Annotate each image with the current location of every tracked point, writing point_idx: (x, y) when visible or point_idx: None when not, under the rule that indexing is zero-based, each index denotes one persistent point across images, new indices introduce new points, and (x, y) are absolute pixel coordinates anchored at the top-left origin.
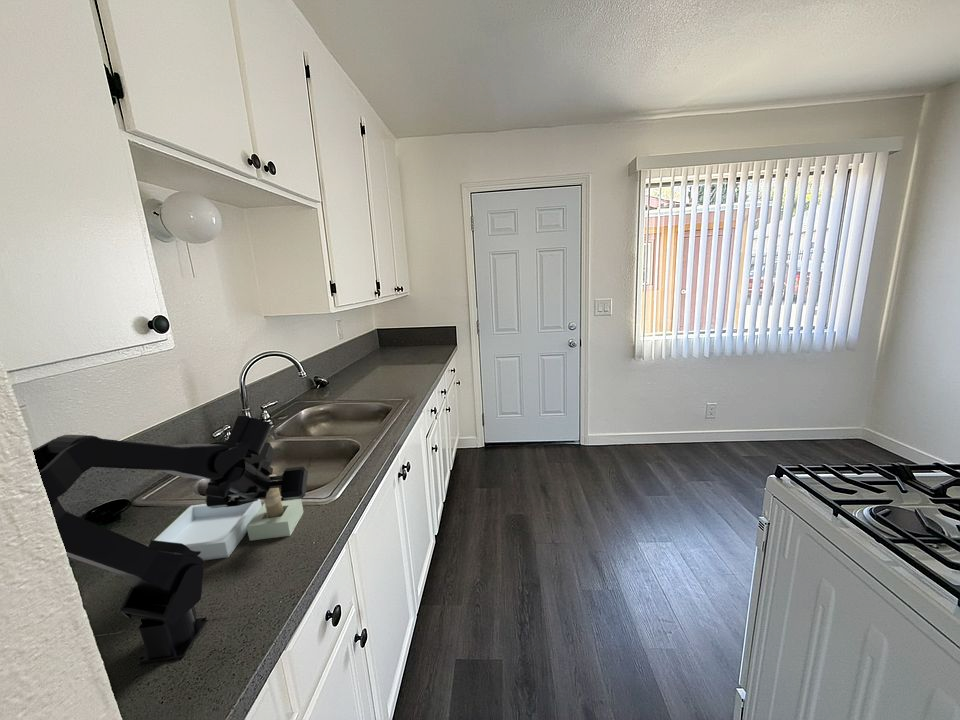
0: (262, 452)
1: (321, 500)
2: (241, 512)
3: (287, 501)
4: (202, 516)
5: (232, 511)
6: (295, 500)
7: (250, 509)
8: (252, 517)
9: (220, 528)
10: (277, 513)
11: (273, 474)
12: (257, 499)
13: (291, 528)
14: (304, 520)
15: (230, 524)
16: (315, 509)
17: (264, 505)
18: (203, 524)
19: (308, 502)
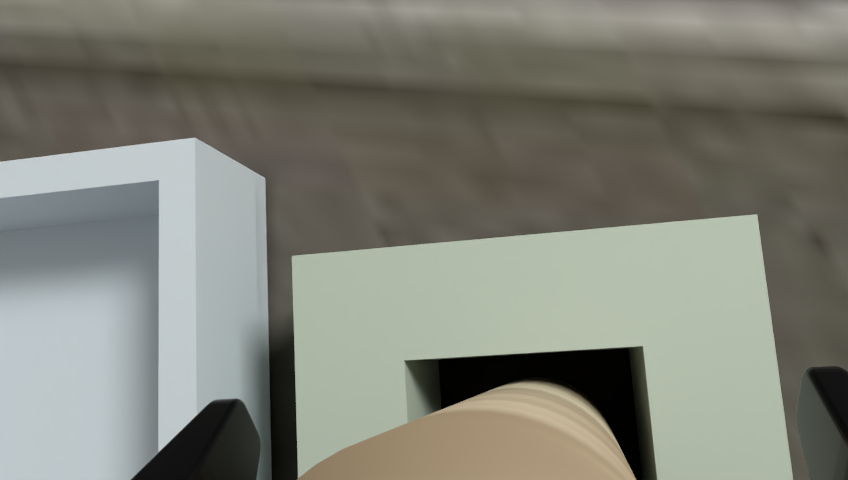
0: None
1: (820, 30)
2: (88, 221)
3: (583, 252)
4: None
5: (5, 224)
6: (688, 241)
7: (192, 371)
8: (243, 372)
9: (15, 447)
10: None
11: (525, 473)
12: (255, 449)
13: None
14: (791, 383)
15: (74, 398)
16: (828, 193)
17: (319, 305)
18: None
19: (678, 59)
